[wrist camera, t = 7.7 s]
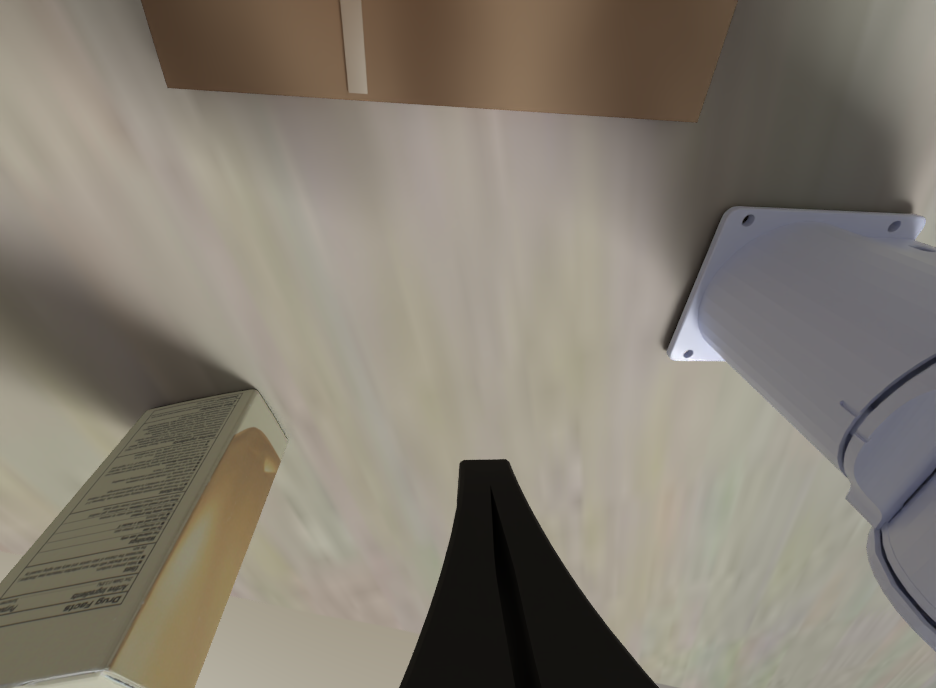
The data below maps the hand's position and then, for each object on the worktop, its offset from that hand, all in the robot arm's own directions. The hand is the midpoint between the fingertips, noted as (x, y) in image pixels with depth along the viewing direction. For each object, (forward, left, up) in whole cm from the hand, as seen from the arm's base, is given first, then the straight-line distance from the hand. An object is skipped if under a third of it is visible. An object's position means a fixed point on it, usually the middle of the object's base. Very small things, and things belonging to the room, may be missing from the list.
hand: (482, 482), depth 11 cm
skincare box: (+13, +7, -10) cm, 18 cm away
